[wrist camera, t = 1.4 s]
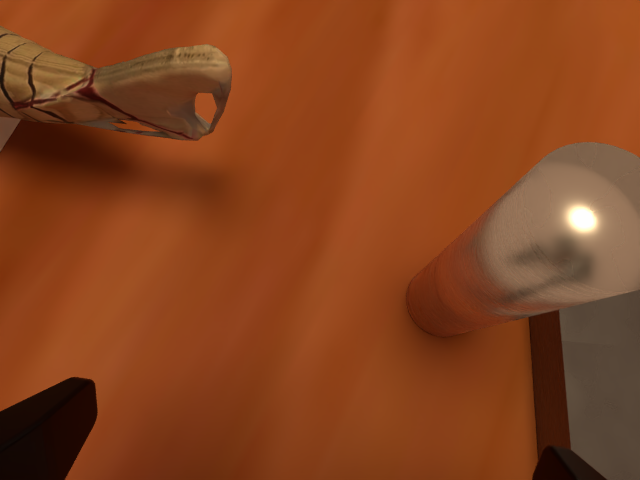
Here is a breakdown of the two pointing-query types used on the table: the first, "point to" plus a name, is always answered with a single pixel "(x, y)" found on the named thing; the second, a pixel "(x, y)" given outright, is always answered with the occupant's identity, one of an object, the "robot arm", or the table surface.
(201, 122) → the wood carving
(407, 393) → the table surface
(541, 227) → the pin
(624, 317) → the grey square frame
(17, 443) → the robot arm
